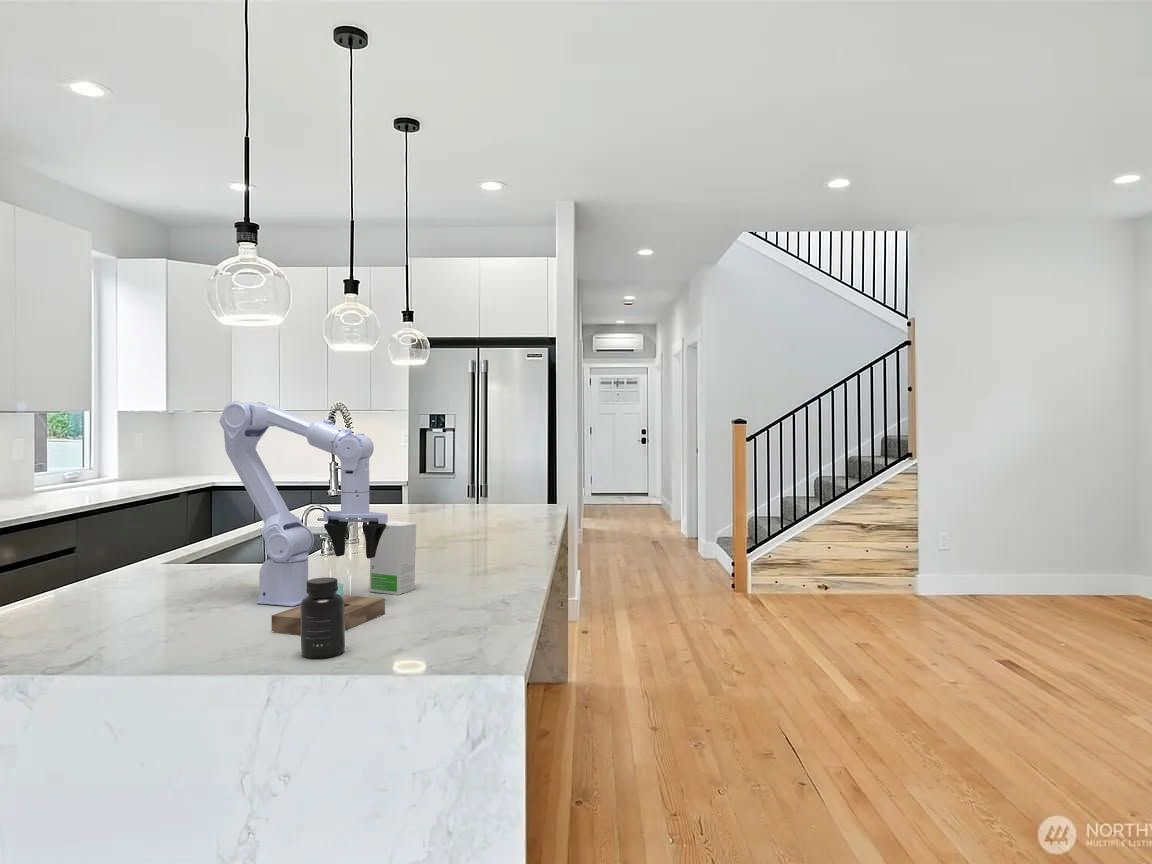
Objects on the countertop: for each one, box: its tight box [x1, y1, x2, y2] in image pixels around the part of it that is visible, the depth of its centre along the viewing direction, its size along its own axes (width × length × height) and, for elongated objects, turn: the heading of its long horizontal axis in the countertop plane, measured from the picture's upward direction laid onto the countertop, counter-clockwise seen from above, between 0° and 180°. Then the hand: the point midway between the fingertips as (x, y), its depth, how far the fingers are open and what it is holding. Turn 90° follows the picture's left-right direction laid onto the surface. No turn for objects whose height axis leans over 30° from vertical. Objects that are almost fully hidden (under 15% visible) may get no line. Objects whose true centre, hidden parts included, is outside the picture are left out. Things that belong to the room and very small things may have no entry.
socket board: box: [271, 594, 386, 636], centre depth 143 cm, size 12×18×3 cm, turn 162°
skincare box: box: [369, 519, 417, 596], centre depth 171 cm, size 8×7×16 cm
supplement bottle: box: [299, 576, 346, 660], centre depth 123 cm, size 7×7×12 cm
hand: (355, 556), depth 158 cm, fingers open, 7 cm apart
